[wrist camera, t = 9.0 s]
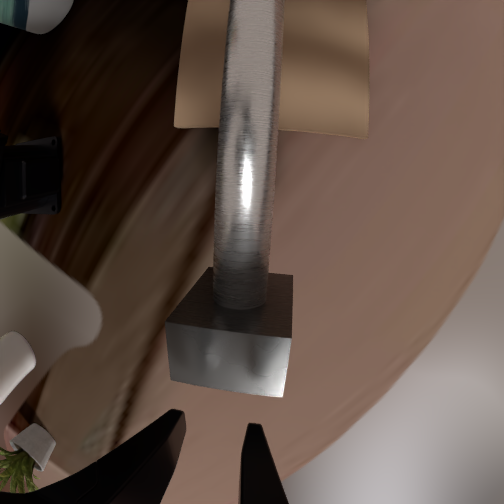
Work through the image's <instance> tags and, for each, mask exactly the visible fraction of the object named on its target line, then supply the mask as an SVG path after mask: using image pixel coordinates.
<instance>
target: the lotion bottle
mask: <svg viewBox="0 0 504 504" xmlns="http://www.w3.org/2000/svg"><path fill="white" fill-rule="evenodd" d="M73 1H74V0H0V23H3V24H7V25H10V26H13V27H16V28H20V29H23V30H26V31H29V32H33V33H36V34H44V33H47V32H49V31H51V30H52V29H53V28H55V27H56V26H57V25H58V24H59V23H60V22H61V21H62V20H63V19H64V17H65V16H66V15H67V13H68V12H69V10H70V8H71V6H72V4H73Z"/></svg>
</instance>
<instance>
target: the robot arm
mask: <svg viewBox="0 0 504 504" xmlns="http://www.w3.org/2000/svg"><path fill="white" fill-rule="evenodd" d="M0 131H1V130H0ZM7 139H8V136H7V135H5V134H2V133H0V219H3V218H6V217H9V216H13V215H16V214H20V213H29V214H57V213H59V212H60V209H61V206H60V138H59V137H56V136H53V137H48V138H43V139H38V140H33V141H28V142H23V143H19V144H16V145H12V146H5V144H6V143H7ZM55 208H56V210H55ZM185 433H186V421H185V413H184V412H183V411H181V410H177V409H170V410H169V411H168V412H166V413H165V414H164V415H162V416H161V417H159V418H158V419H157V420H155V421H154V422H153V423H151V424H150V425H148V426H147V427H146V428H144V429H143V430H141V431H140V432H138V433H137V434H136V435H134V436H133V437H131V438H130V439H128V440H127V441H125V442H124V443H123V444H121V445H120V446H118V447H117V448H115V449H114V450H112V451H111V452H109V453H108V454H106V455H105V456H103V457H101V458H100V459H98V460H97V462H94V463H92V464H90V465H89V466H87V467H86V468H84V469H82V470H80V471H79V472H77V473H75V474H73V475H71V476H69V477H67V478H65V479H62V480H60V481H58V482H55V483H53V484H51V485H48V486H46V487H43V488H41V489H38V490H35V491H32V492H28V493H10V492H1V491H0V504H160V503H161V500H162V498H163V496H164V494H165V491H166V489H167V487H168V485H169V482H170V480H171V478H172V476H173V473H174V471H175V468H176V465H177V461H178V458H179V454H180V451H181V447H182V444H183V440H184V437H185ZM238 504H289V503H288V500H287V497H286V495H285V492H284V489H283V486H282V483H281V481H280V478H279V475H278V472H277V469H276V466H275V463H274V460H273V457H272V455H271V452H270V449H269V446H268V443H267V440H266V437H265V434H264V431H263V428H262V425H261V424H256V423H249V424H248V426H247V430H246V435H245V439H244V443H243V447H242V452H241V466H240V480H239V501H238Z"/></svg>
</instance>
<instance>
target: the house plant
mask: <svg viewBox="0 0 504 504" xmlns="http://www.w3.org/2000/svg"><path fill="white" fill-rule="evenodd" d="M10 444H11V446H12V447H13V449H14V450H15V451H14V452H9V451H6V450H4V449H3V448H1V447H0V450H1V452H0V455H4V456H5V457H6V458H7V459H5V460H0V463H1V464H0V468H2V467H3V468H6V470H5V471H3V472H2V473H1V474H0V481H1V480H3V479H4V480H3V482H2V484H1V485H0V491H1V490H2V488H3V487H4V486H5V485H6V483H7V481H8V479H9V478H10V476H11V475H12V478H11V483H10V491H11V492H12V493H16V487H17V485H18V490H19V493H25V490H24V475H25V478H26V483H27V487H28V490H29V492H32V491H35V489H36V490H38V487H37V486H36V485H35V484H34V483H33V479H32V474H33V469H34V468H35V469H36V470H38V471H43V470H44V468H45V466H46V463H47V461H48V459H49V457H50V455H51V453H52V451H53V449H54V447H55V444H56V443H55V440H54V439H53V437H52V436H51V435H50V434H49V433H48V432H47V431H46V430H45V429H44V428H42V427H41V426H39V425H38V424H36V423H33V424H32V425H30V426H29V427H28V428H26V429H25V430H24V431H22V432H21V433H20V434H18V435H17V436H16V437H14V438H13V439H12V440H10ZM4 452H5V453H4ZM14 454H16V455H14ZM9 455H13V456H9ZM17 472H18V473H17ZM16 476H17V477H16ZM33 476H34V477H35V478H36V479H40V478H37V477H36V476H35V475H33ZM15 480H16V481H15ZM34 488H35V489H34ZM11 492H10V493H11Z"/></svg>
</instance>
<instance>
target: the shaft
mask: <svg viewBox="0 0 504 504" xmlns="http://www.w3.org/2000/svg"><path fill="white" fill-rule="evenodd" d="M284 2H285V0H230V5H229V14H228V24H227V34H226V44H225V55H224V67H223V79H222V92H221V106H220V120H219V137H218V154H217V174H216V197H215V225H214V265H213V267H208V269H207V270H206V271H205V272H204V274H203V275H202V276H201V277H200V278H199V280H198V281H197V282H196V283H195V285H194V286H193V287H192V288H191V290H190V291H189V292H188V293H187V295H186V296H185V297H184V298H183V300H182V301H181V302H180V303H179V305H178V306H177V307H176V308H175V310H174V311H173V312H172V313H171V315H170V316H169V317H168V318H167V320H166V321H165V328H166V339H167V350H168V359H169V368H170V377H171V380H173V381H177V382H182V383H187V384H192V385H197V386H203V387H208V388H214V389H220V390H227V391H233V392H240V393H248V394H256V395H264V396H274V397H283V391H284V385H285V378H286V372H287V366H288V359H289V353H290V346H291V339H292V306H293V275H285V274H275V273H268V270H269V257H270V244H271V231H272V217H273V204H274V189H275V174H276V159H277V143H278V127H279V109H280V91H281V72H282V51H283V28H284Z"/></svg>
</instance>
